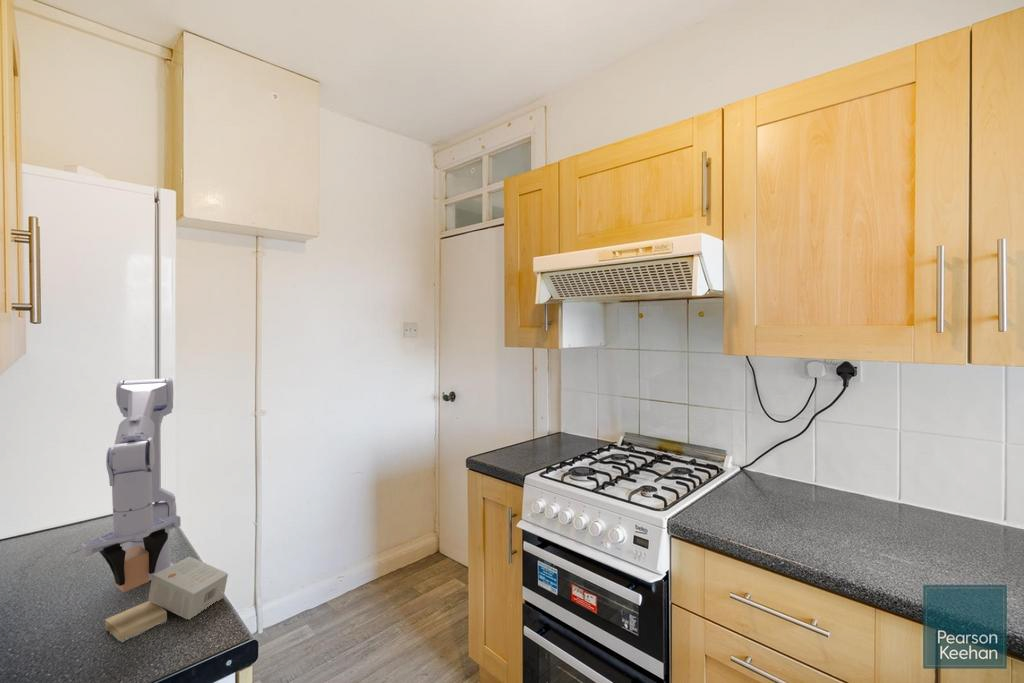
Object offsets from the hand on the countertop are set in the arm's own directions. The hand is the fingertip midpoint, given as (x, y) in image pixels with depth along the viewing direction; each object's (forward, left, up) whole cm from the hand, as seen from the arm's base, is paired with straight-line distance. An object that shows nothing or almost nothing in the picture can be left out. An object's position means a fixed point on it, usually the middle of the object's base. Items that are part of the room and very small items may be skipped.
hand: (135, 577), depth 86 cm
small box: (+7, +9, -6) cm, 13 cm away
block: (-2, 0, -2) cm, 3 cm away
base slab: (0, 0, -9) cm, 9 cm away
